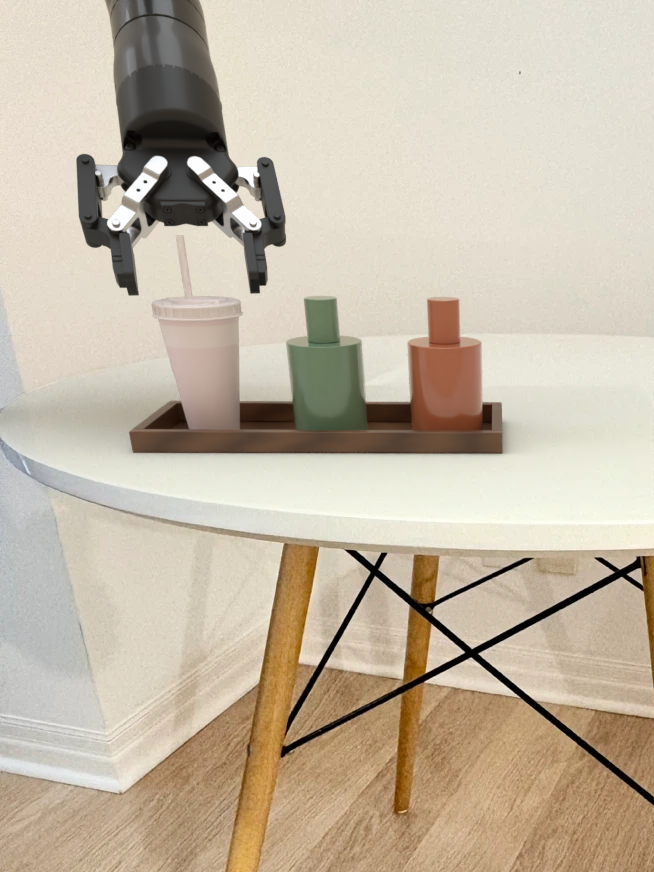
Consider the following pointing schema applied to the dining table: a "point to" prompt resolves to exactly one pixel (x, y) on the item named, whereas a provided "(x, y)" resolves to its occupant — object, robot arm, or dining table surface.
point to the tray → (313, 433)
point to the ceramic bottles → (345, 383)
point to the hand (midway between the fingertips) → (194, 287)
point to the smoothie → (203, 352)
